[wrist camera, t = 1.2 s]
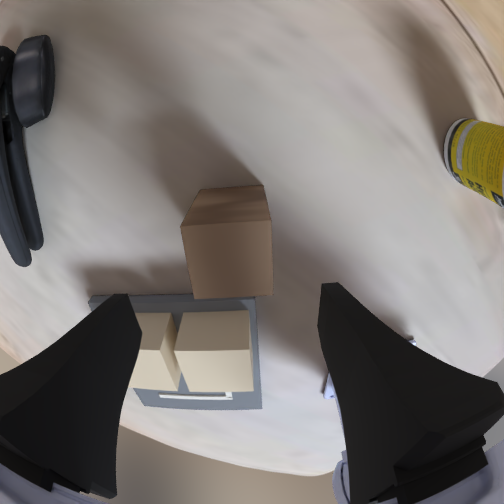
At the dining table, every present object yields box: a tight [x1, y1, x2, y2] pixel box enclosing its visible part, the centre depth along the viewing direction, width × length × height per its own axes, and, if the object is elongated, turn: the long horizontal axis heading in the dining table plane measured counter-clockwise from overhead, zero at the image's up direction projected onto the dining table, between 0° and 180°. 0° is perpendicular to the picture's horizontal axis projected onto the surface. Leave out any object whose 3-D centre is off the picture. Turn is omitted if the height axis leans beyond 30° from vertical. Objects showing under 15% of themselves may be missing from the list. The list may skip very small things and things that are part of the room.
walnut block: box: [180, 185, 273, 299], centre depth 16 cm, size 4×4×6 cm
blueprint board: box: [88, 294, 262, 410], centre depth 23 cm, size 14×16×5 cm
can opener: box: [0, 35, 55, 267], centre depth 13 cm, size 18×7×6 cm, turn 173°
